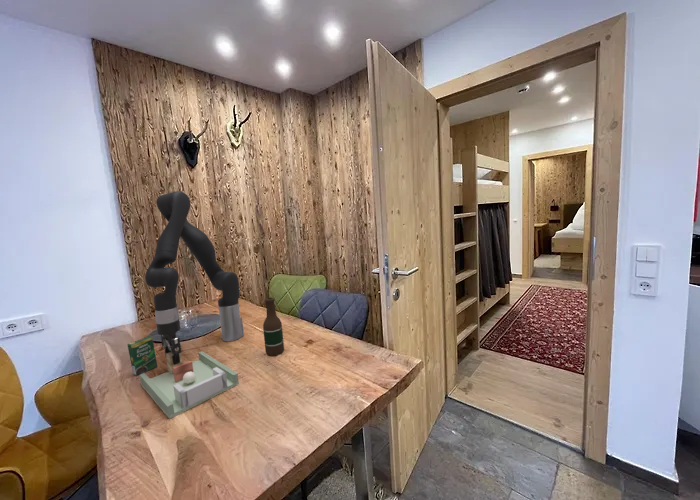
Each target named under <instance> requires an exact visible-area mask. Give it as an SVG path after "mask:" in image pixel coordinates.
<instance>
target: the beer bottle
mask: <svg viewBox="0 0 700 500" xmlns="http://www.w3.org/2000/svg"><path fill="white" fill-rule="evenodd" d="M265 303H266V318H265V319H264V321H263V325H262V327H263V329H262V330H263V340H264V350H265V353H266V354H265V355H267V356H268V357H276V356H279V355H282V354H283V353H284V350H285V343H284V335H283V334H284V333H283V325H282V321H281V320H280V319H281V318H279V316H278V315H277V312H276V306H275V298H274V297H266V299H265Z"/></svg>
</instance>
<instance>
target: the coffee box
mask: <svg viewBox="0 0 700 500" xmlns="http://www.w3.org/2000/svg"><path fill="white" fill-rule="evenodd" d="M127 349H128V355H129V360H130V364H131V371H132V374H133V376H136V377H139V376H140V374H143V373H145V374H146V373H147V372H149V371H152V370H154V369H155V368H158V361H157V355H156V352H155V351H156V350H155V344H154V339H153V336H150V335H149V336H146V337H143V338H140V339H138V340H136V341H132V342H130V343H127Z"/></svg>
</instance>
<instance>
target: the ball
mask: <svg viewBox="0 0 700 500" xmlns="http://www.w3.org/2000/svg"><path fill="white" fill-rule="evenodd" d="M195 377H196V375H195V373H194V372H187V373H185V374H184V376H183V381H184V383H186V384H190V383H192V382H193V381H194V380H195Z"/></svg>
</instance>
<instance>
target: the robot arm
mask: <svg viewBox="0 0 700 500" xmlns="http://www.w3.org/2000/svg"><path fill="white" fill-rule="evenodd" d="M156 207H157V209H158V211H159V212H160V213H161V215H162V216H163V217H164V219H165V220H166V221H167V225H166V226H165V228H164V229H163V230H162V232H161V233H160V235H159V237H158V239H157V243H156V248H155V253H154V256H153V259H152V260H151V263H150V264H149V265H148V268H147V270H146V273H145V278H144V279H145V280H144V281H145V283H146V285H148V287H150V288H163V287H164V291H163V292H159V293H156V294H155V295H154V296H153V303H154V314H155V315H154V317H155V326H156V331H157V333H156V334H157V335H159V336H160V338H161V346H162V347H163V349H164V354H165V356H166V354H167V353H169V352H171V353H172V358H173V364H174V365H175V364H178V363H180V356H179V353H181V354H182V346H181V340H180V339H181V338H180V336H178V335H177V334H176V333H177V332H179V331H180V330H181V321H180V313H179V309H178V303H177V290H178V284H179V278H180V277H179V273H178V270H176V269H175V268H174V267H166V266H168V265H170V264H173V263H175V262H176V260H177V256H178V251H179V249H178V248H179V243H180V239H182V241H183V242H184V243H185V245H186V247H187V248H188V250H189V251H190V252H191V254H192V256H194V258H195V259H196V260H197V262H198V264H199V266H201V268H202V269H203V270H204V272H205V274H206V275H207V278H208V280H209V281H210V283H211V284H212V286H213V288H214V289H216V290H218V291H222V297H220V298H219V299H218V300H217V304H218V305H217V306H218V311H219V312H218V314H219V321H220V322H219V323H220V331H221V339H222V341H223V342H234V341H237V340H239V339H241V338H242V337H244V336H245V332H244V324H243V323H244V322H243V317H242V316H241V314H240V313H241V311H240V305H239V304H240V303H239V302H240V301H239V299H240V282H239V277H238V275H237V274H236V273H235V272H233V271H225V270H223V268H222V267H221V266H220V264H219V263H218V260H217V257H216V249H215V246H214V245H213V243H212V241H211V240H210V238H209V236H208V235H207V233H205V232H203V230H201V229H199V228H198V227H196V226H194V225H193V224H191V223H190V221H188V220H187V218H188V215H189V212H190V209H191V199H190V197H189V195H188V194H187V193H185V192H184V191H180V190H177V191H171V192H168V193H164V194H162V195H160V196H158V197H157V198H156ZM175 350H177V351H175Z"/></svg>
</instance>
